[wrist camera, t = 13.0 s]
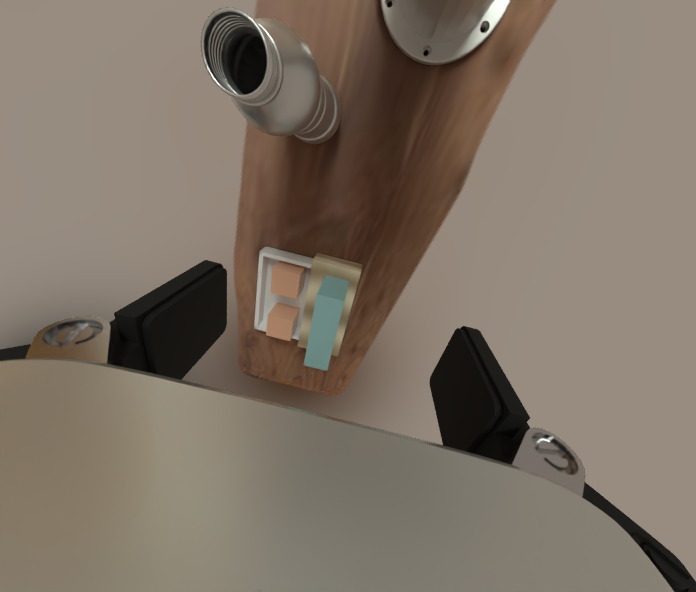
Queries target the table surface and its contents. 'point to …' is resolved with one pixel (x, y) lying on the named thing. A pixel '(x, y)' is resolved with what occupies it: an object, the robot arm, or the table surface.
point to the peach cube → (282, 321)
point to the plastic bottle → (270, 76)
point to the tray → (264, 297)
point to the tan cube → (288, 279)
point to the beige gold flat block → (319, 270)
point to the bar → (325, 322)
